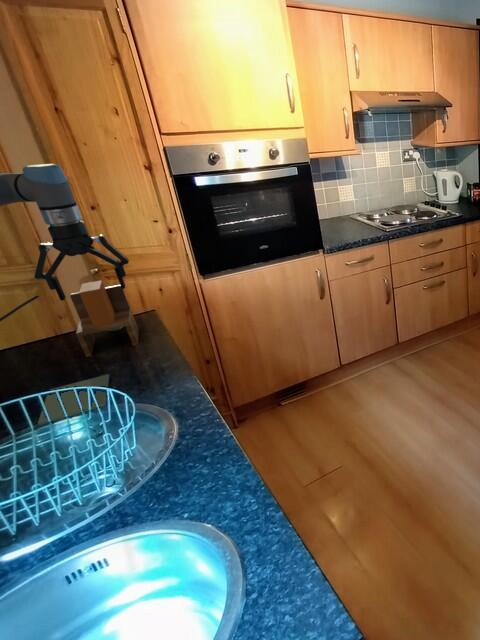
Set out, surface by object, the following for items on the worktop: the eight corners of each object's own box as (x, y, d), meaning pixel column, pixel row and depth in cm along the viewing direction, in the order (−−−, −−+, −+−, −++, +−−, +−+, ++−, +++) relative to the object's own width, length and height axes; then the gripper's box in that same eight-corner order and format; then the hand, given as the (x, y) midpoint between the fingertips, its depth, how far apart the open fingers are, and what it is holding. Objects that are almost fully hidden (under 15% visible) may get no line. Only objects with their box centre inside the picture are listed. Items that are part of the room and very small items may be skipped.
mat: (49, 391, 116) (48, 389, 116) (109, 375, 123) (108, 373, 122) (38, 425, 104) (37, 423, 104) (105, 406, 111) (104, 404, 111)
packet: (95, 316, 137) (82, 283, 133) (114, 312, 140) (101, 280, 135) (93, 326, 131) (79, 292, 127) (113, 322, 134) (99, 288, 130)
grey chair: (90, 340, 140) (69, 293, 134) (138, 329, 147) (121, 284, 140) (86, 357, 131) (64, 308, 125) (138, 344, 138) (119, 297, 131)
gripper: (-4, 233, 114) (33, 308, 123) (122, 218, 128) (147, 286, 136) (3, 227, 120) (38, 299, 128) (123, 212, 133) (147, 279, 142)
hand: (94, 293), depth 132 cm, fingers open, 13 cm apart
